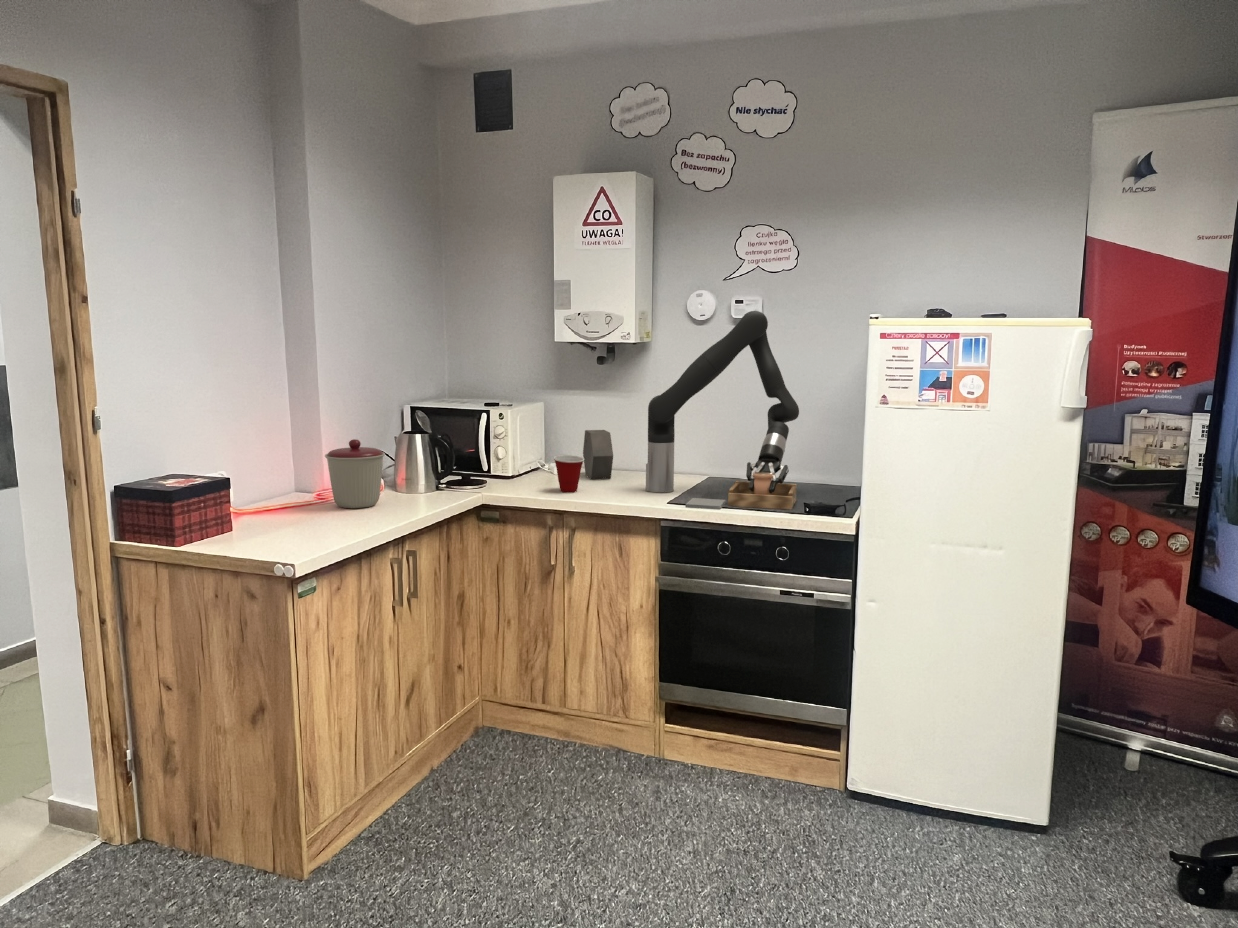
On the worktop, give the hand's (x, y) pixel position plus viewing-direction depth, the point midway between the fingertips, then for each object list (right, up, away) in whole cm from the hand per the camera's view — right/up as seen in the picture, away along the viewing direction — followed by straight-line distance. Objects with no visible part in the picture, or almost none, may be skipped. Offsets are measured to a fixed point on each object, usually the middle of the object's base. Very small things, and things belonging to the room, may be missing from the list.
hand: (761, 490), depth 281 cm
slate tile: (-18, -5, -1) cm, 18 cm away
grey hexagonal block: (-54, +4, +54) cm, 76 cm away
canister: (-128, -5, -5) cm, 129 cm away
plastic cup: (-63, -1, +23) cm, 67 cm away
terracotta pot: (+1, -4, +2) cm, 5 cm away
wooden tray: (+1, -4, +3) cm, 5 cm away
